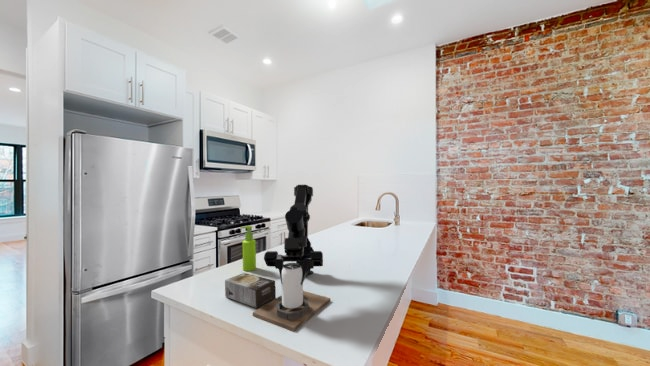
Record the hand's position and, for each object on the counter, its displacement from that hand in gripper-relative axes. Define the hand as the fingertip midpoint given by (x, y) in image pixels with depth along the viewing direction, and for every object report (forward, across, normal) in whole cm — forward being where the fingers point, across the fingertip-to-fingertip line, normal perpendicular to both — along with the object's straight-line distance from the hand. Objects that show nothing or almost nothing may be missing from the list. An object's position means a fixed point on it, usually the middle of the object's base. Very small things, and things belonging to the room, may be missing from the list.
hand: (291, 284), depth 77 cm
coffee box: (-7, -24, +16) cm, 29 cm away
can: (+4, 0, +6) cm, 7 cm away
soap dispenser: (-22, -27, +36) cm, 50 cm away
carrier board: (+4, 0, +10) cm, 11 cm away
